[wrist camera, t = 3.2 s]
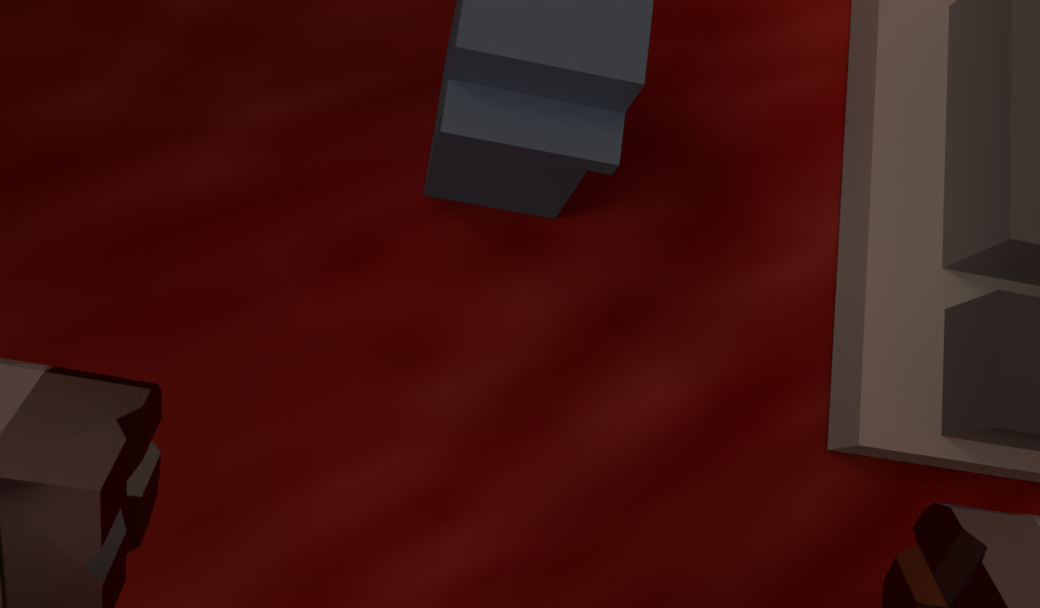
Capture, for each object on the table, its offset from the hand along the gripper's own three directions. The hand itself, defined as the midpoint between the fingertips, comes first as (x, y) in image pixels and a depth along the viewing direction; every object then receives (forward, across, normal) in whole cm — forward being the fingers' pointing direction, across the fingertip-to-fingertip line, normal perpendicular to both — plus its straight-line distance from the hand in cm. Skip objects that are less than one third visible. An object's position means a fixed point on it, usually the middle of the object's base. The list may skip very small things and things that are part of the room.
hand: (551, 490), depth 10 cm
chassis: (+16, -14, +1) cm, 21 cm away
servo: (+15, 0, +2) cm, 15 cm away
